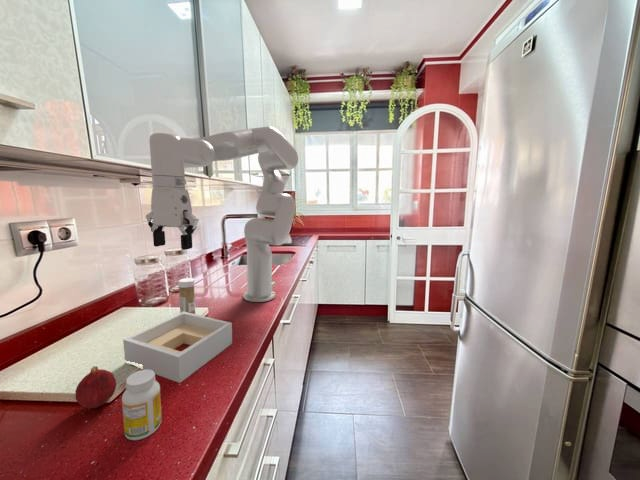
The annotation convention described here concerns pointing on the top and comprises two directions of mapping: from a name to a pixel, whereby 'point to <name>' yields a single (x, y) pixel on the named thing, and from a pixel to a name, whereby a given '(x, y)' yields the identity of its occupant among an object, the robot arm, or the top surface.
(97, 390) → the onion
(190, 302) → the sprinkles bottle
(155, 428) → the supplement bottle
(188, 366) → the open box
